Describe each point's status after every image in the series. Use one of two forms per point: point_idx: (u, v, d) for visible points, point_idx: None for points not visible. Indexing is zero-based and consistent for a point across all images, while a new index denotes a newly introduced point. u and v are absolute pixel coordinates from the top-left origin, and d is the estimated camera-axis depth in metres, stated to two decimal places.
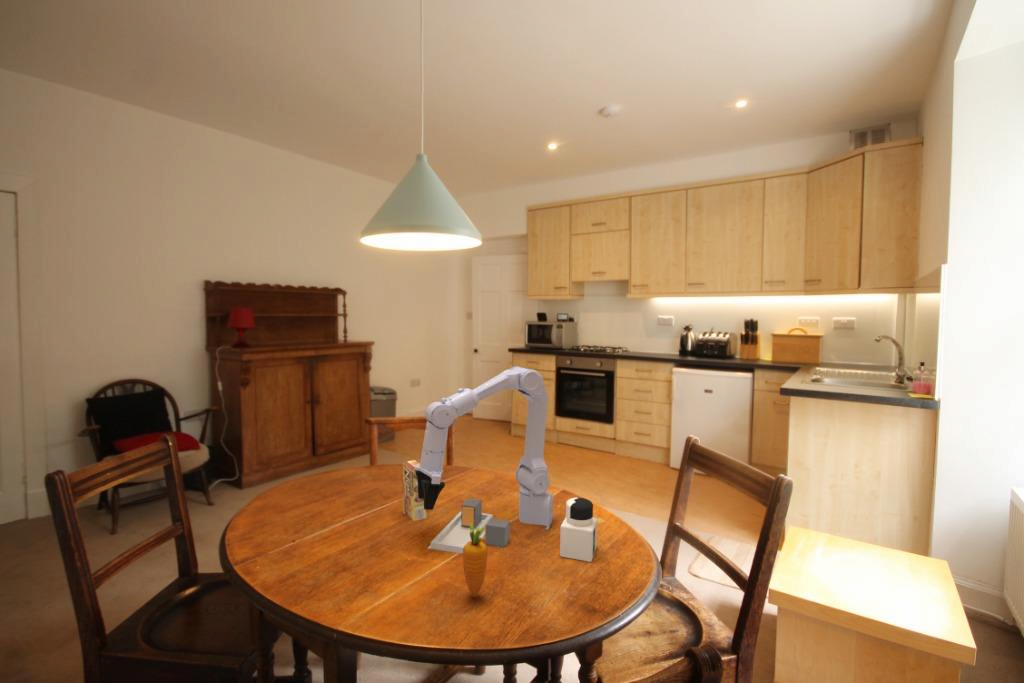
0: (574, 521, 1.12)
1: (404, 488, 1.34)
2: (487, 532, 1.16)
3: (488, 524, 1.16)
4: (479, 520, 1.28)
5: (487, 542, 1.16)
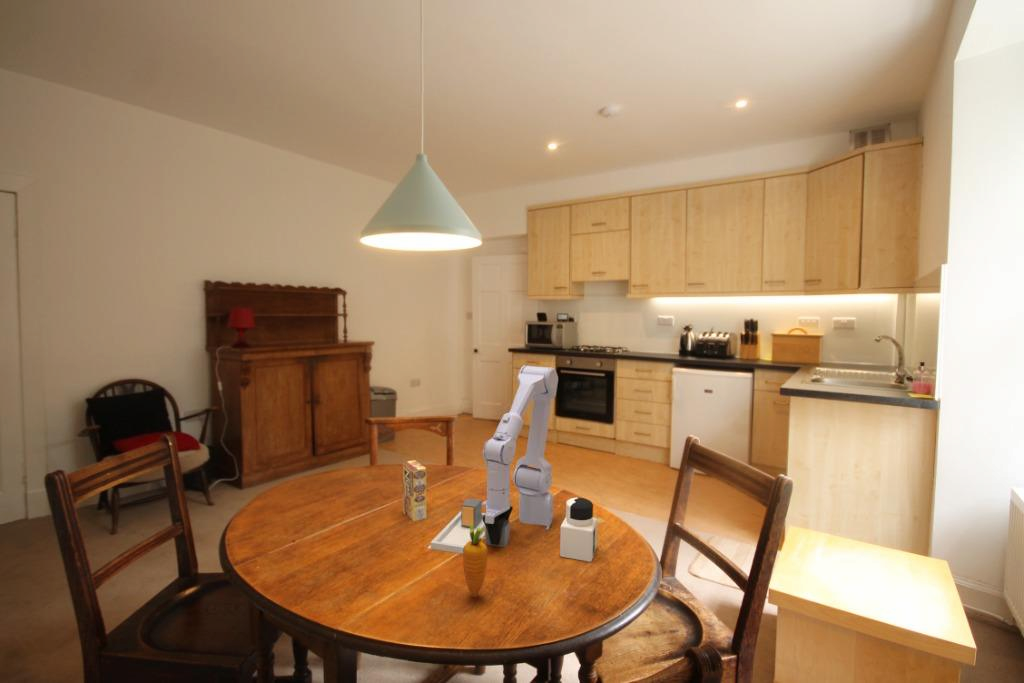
0: (574, 521, 1.12)
1: (404, 488, 1.34)
2: (487, 532, 1.16)
3: None
4: (479, 520, 1.28)
5: (487, 542, 1.16)
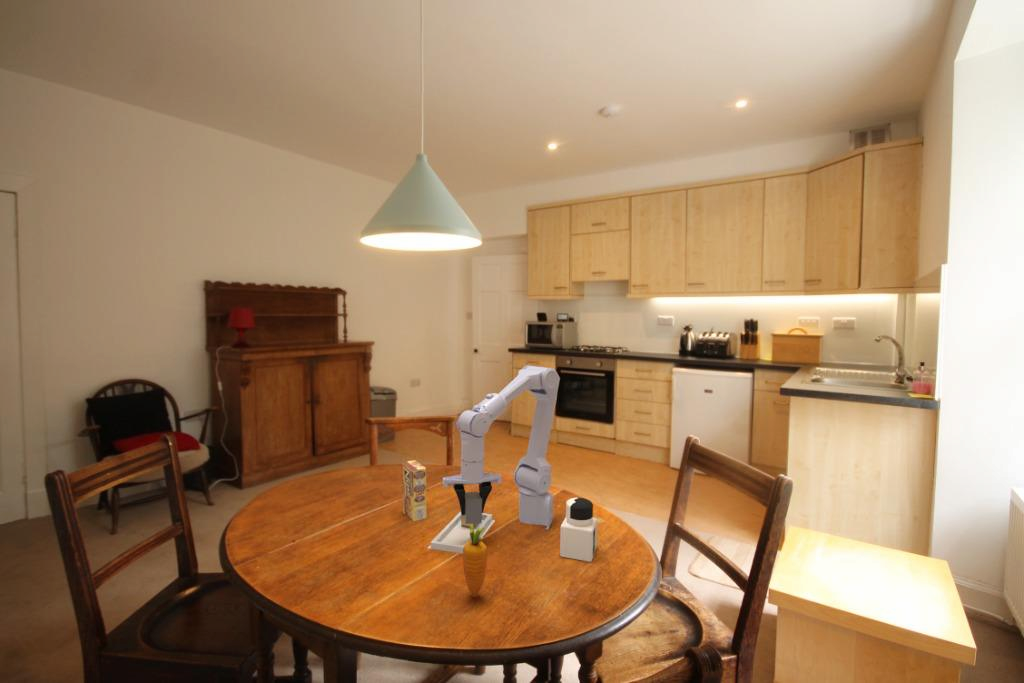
0: (574, 521, 1.12)
1: (404, 488, 1.34)
2: None
3: None
4: None
5: None
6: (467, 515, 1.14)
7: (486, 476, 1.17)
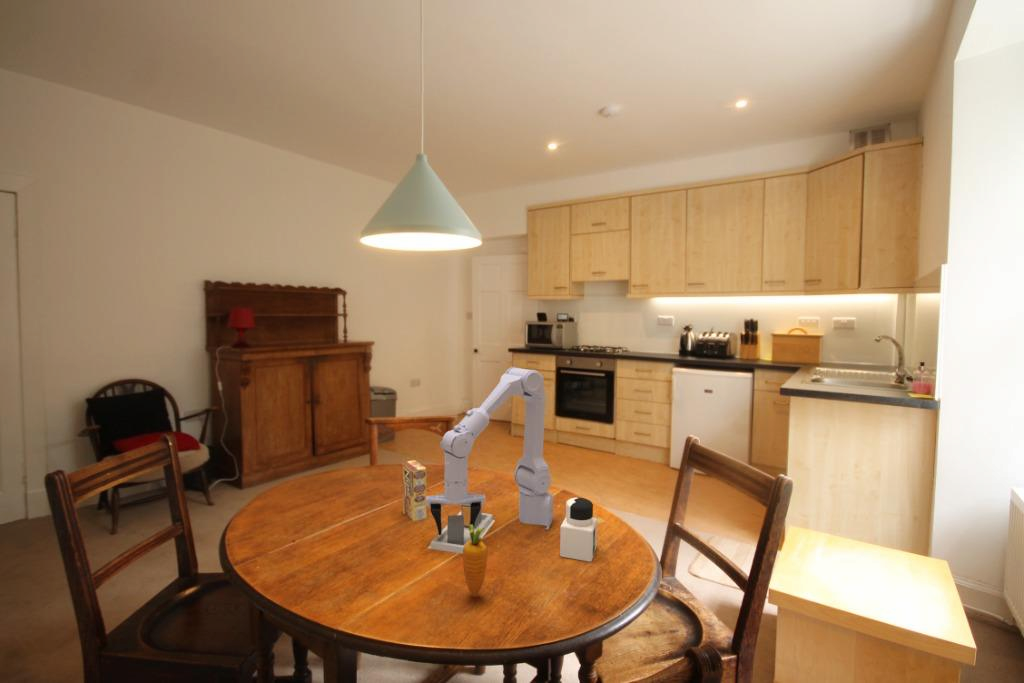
0: (574, 521, 1.12)
1: (404, 488, 1.34)
2: None
3: (449, 516, 1.18)
4: (479, 520, 1.28)
5: None
6: (449, 539, 1.14)
7: (470, 497, 1.17)
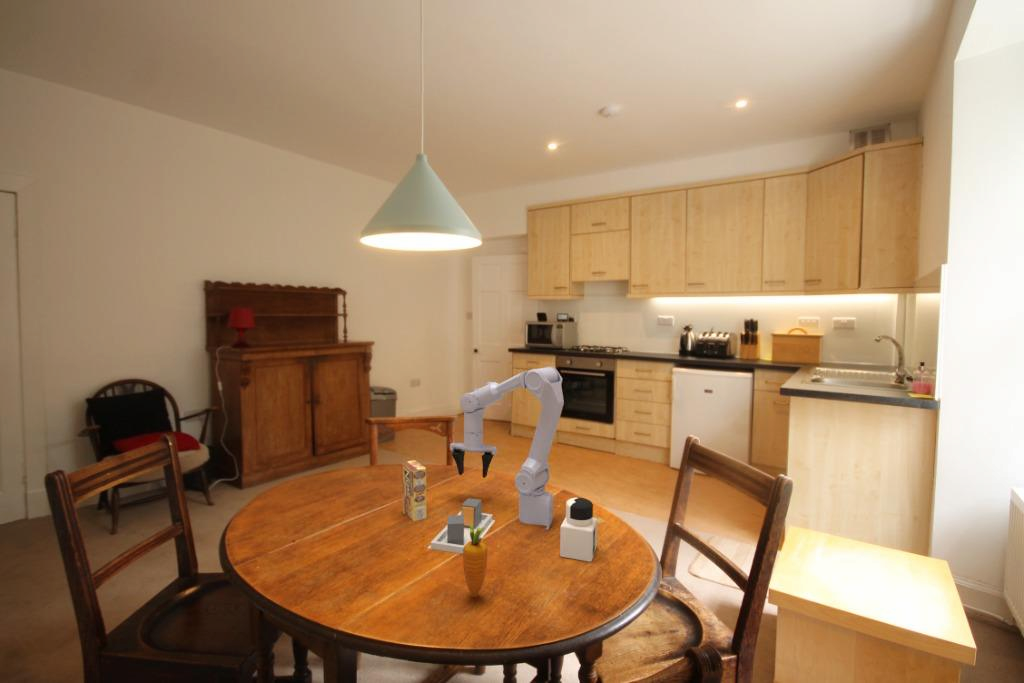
0: (574, 521, 1.12)
1: (404, 488, 1.34)
2: None
3: (449, 516, 1.18)
4: (479, 520, 1.28)
5: None
6: (449, 539, 1.14)
7: (484, 447, 1.41)
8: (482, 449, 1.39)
